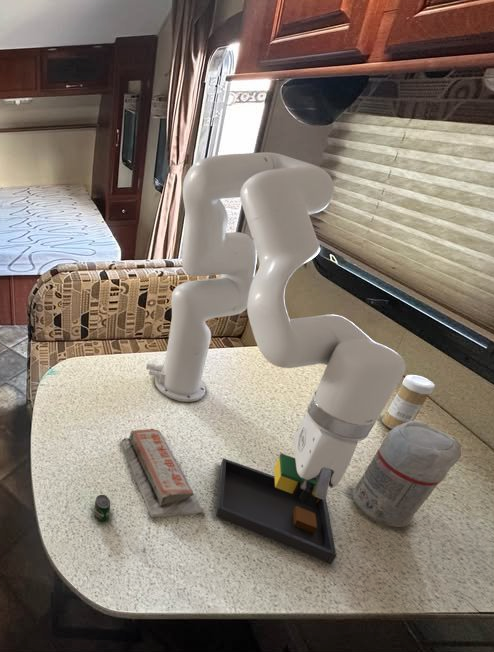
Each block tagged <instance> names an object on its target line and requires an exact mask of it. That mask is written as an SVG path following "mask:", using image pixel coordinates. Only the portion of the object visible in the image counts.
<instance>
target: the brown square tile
mask: <svg viewBox="0 0 494 652" xmlns="http://www.w3.org/2000/svg"><path fill="white" fill-rule="evenodd" d="M293 521H294V526H296V527H298V528H300V529H303V530H305V531H308V532H310V533H313V534H314V533H315V531H316V529H317V522H316V514H315V513H313V512H310V511H307V510H305V509H302V508H299V507H297V506H295V508H294V510H293Z"/></svg>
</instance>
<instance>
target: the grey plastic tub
mask: <svg viewBox="0 0 494 652" xmlns="http://www.w3.org/2000/svg"><path fill="white" fill-rule="evenodd" d="M461 457H462V445H461V443H460V442H459V441H457V440H456V439H454V438H453V437H451V436H450V435H448V434H447V433H446V432H445V431H443V430H440V429H437V428H435V427H433V426H431V425H429V424H428V423H425V422H424V421H416V420H413V421H409V422H407V423H403V424H401V425H398V426H396V427H394V428H393V429H391V430H390V431H389V432H388V433H387V434H386V435H385V437H384V438H383V440H382V441H381V443H380V446H379V448H378V449H377V451H376V452H375V455H374V456H373V458H372V459H371V462H370V464H368V467H367V468H366V469H365V471H364V473H363V475H362V476H361V477H360V479H359V480H358V482H357V484H356V486H355V487H354V488H353V489H352V490H351V491H352V492H351V495H352V498H353V500H354V502H355V503H356V505H357V506H358V508H359V509H361V511H362V512H363V513H364V514H366V515H367V516H368V517H370V518H371V519H372V520H375V521H377V522H378V523H381V524H383V525H386V526H391V527H396V528H402V527H404V528H405V527H407V526H410V524H411V520H412V519H413V517H414V516H415V515H416V513H417V512H418V511H419V509H420V508H421V507H422V505H424V503H425V502H426V501H427V499H428V498H429V497H430V496H431V495H432V494H433V492H434V490H435V488H436V487H437V486H438V485H439V484H440V483H441V482H442V481H444V480H445V478H447V475H448V473H449V471H450V470H451V469H452V468H453V466H454V465H455V464H457V463H458V461H459V459H461Z"/></svg>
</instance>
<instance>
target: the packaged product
mask: <svg viewBox="0 0 494 652" xmlns="http://www.w3.org/2000/svg"><path fill="white" fill-rule="evenodd" d="M121 445H122V447H123V449H124V452H125V455H126V458H127V461H128V463H129V466H130V469H131V472H132V474H133V477H134V480H135V481H136V484H137V487H138V489H139V491H140V495H142V499H143V500H144V503H145V505H146V507H147V509H148V512H149V515H150V516H151V518H163V517H165V518H166V517H175V516H177V517H178V516H187V515H196V514H202V512H203V511H204V510H203V508H202V506H201V504H200V503H199V500H198V498H197V497H196V495H195V493H194V491H193V489H192V488H191V485H190V484H189V482H188V480H187V478H186V476H185V474H184V473H183V470H182V469H181V467H180V464H178V462H177V460H176V458H175V456H174V455H173V452H172V451H171V449H170V447H169V445H168V443H167V441H166V439H165V437H164V435H163V434H162V432H161V431H160V430H159V429H155V428H150V429H149V428H147V429H136V430H135V429H134V430H133V429H132V430H131V431H130V433H129V437H128V438H127V437H124V438H123V439H122V440H121Z"/></svg>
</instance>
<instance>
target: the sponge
mask: <svg viewBox="0 0 494 652" xmlns="http://www.w3.org/2000/svg"><path fill="white" fill-rule="evenodd" d="M273 471H274V472H273V473H274V475H273V476H275V488H278V489H281V490H283V491H286V492H289V493H291V494H292V493H293V492H294V490H295V488H296V486H297V484H298V482H299V483H301V482H302V479H303V478H301V477H300V476H299V474H298V473H297V469H296V461H295V457H293V456H290V455H287V454H284V453H280V454H279V456H278V457H277V460H276V462H275V465H274V467H273ZM308 483H309V484H312V485H314V486H315V485H316V480H313V479H309V482H308ZM318 500H319V499H318ZM317 502H318V501H317Z"/></svg>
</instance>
